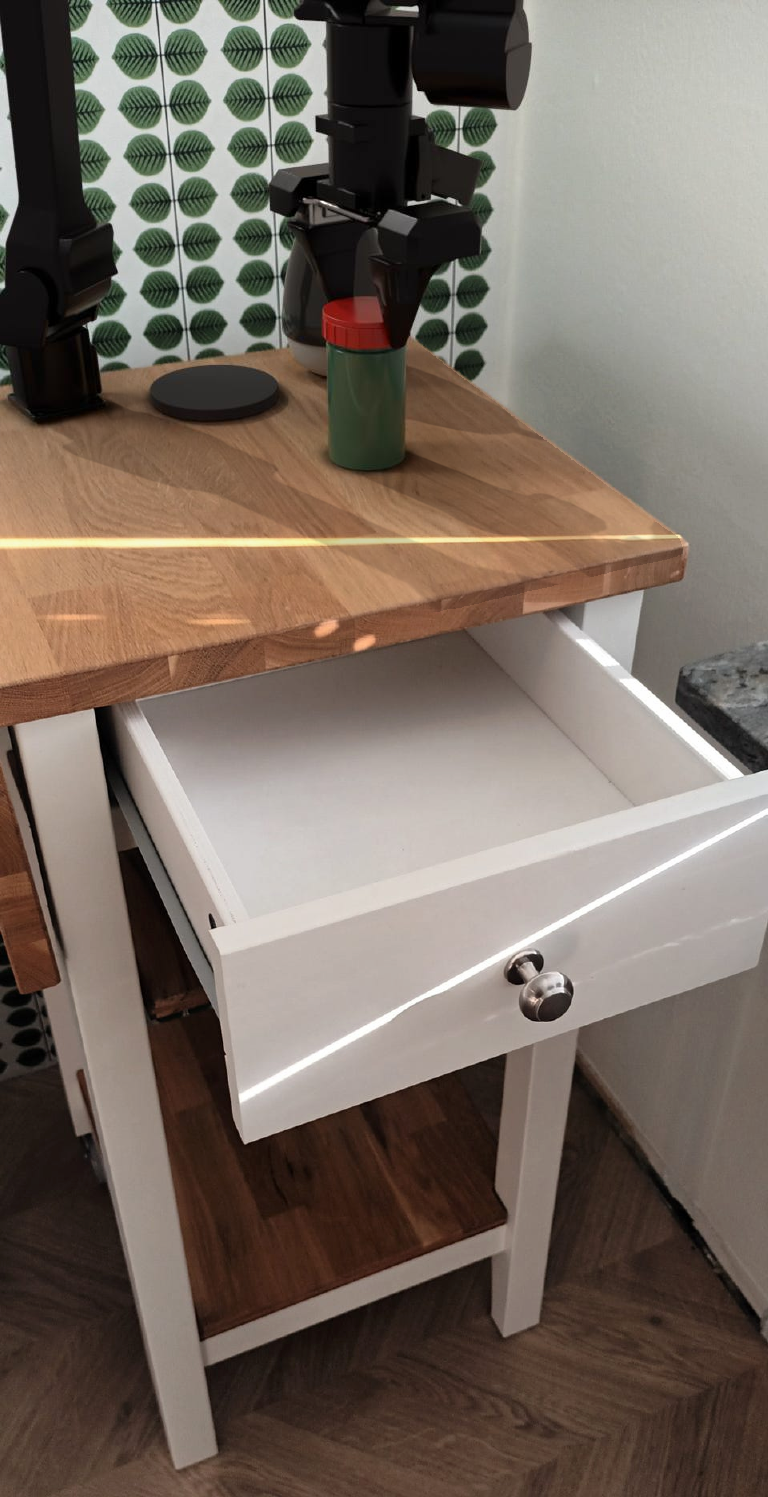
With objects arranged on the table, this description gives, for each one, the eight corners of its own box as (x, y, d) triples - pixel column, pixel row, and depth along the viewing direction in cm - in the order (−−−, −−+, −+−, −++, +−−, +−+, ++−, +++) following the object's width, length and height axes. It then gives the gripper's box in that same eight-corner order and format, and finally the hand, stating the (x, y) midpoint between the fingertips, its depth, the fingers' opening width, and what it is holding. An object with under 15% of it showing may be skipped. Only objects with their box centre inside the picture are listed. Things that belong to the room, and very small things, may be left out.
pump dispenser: (350, 396, 108) (347, 211, 99) (260, 371, 113) (250, 192, 104) (418, 365, 115) (422, 188, 106) (331, 342, 120) (327, 171, 111)
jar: (356, 477, 95) (355, 338, 88) (314, 451, 99) (310, 316, 92) (420, 459, 98) (423, 323, 91) (376, 434, 102) (376, 302, 95)
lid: (428, 339, 92) (428, 312, 91) (355, 355, 89) (354, 329, 88) (377, 316, 96) (377, 291, 95) (305, 331, 93) (304, 305, 92)
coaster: (188, 431, 102) (187, 419, 101) (129, 391, 109) (128, 380, 109) (302, 403, 107) (302, 392, 106) (239, 367, 114) (238, 356, 114)
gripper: (553, 109, 81) (534, 349, 90) (389, 72, 93) (388, 286, 102) (413, 127, 76) (409, 379, 85) (260, 85, 88) (270, 309, 97)
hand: (370, 334), depth 92 cm, fingers open, 7 cm apart
